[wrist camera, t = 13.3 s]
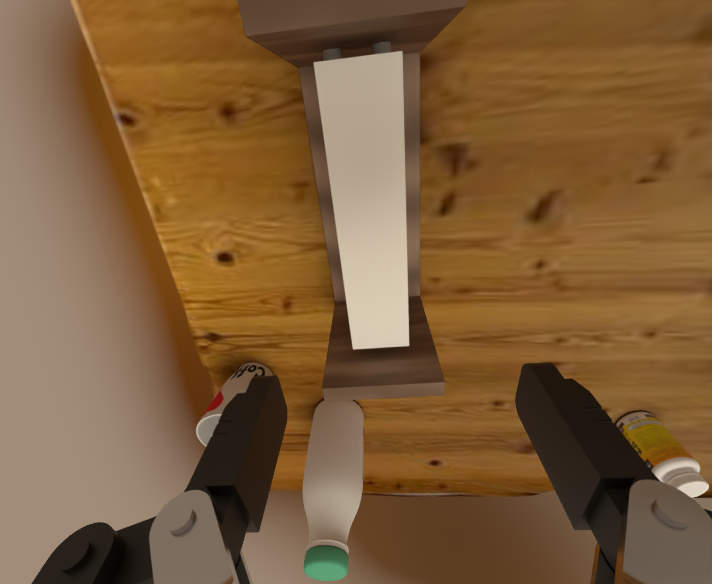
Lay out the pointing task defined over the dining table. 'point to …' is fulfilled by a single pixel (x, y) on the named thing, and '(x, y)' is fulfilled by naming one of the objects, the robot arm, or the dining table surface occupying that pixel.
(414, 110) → the shelf frame
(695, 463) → the supplement bottle
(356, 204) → the shelf board
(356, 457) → the milk bottle
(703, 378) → the dining table surface
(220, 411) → the cup
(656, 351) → the dining table surface
